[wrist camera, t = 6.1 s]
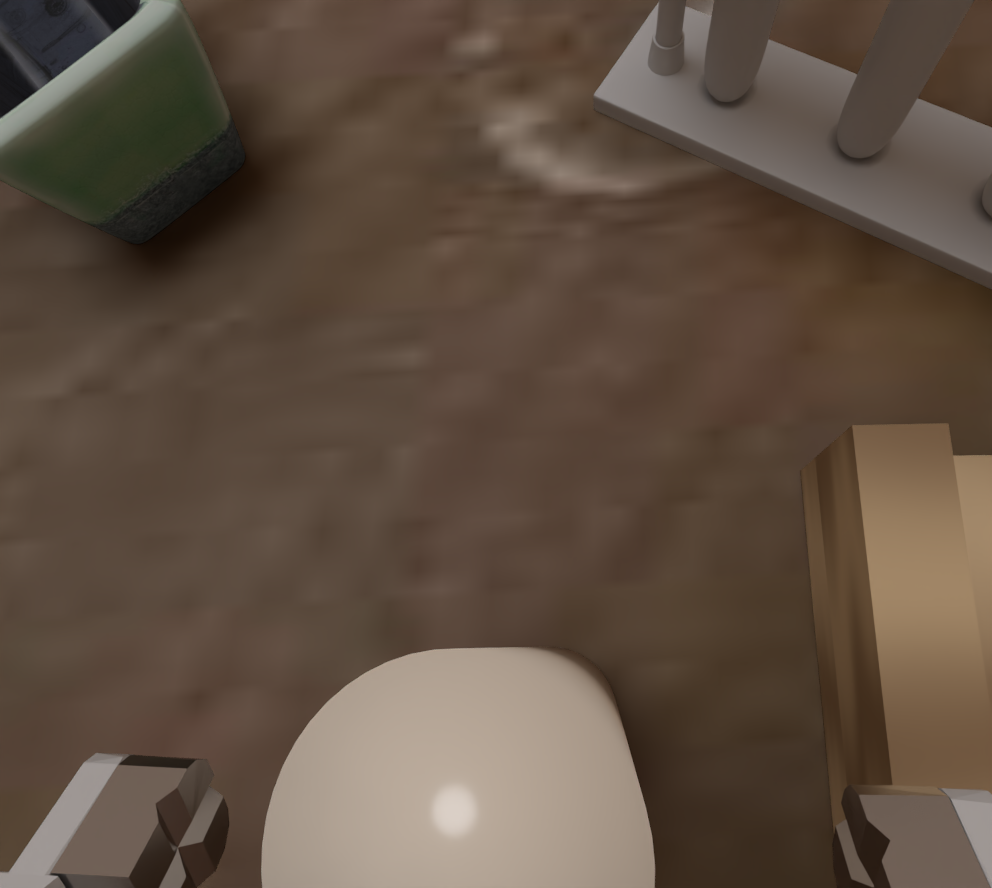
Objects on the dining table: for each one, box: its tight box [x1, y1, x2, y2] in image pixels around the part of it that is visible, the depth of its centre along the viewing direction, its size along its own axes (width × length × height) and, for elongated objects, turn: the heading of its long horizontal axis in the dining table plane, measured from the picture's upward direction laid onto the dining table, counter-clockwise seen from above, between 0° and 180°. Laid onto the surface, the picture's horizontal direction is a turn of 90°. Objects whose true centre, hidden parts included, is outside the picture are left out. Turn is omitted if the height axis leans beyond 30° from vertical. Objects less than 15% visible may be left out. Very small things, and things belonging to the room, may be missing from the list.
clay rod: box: [261, 647, 655, 888], centre depth 13 cm, size 4×4×14 cm
